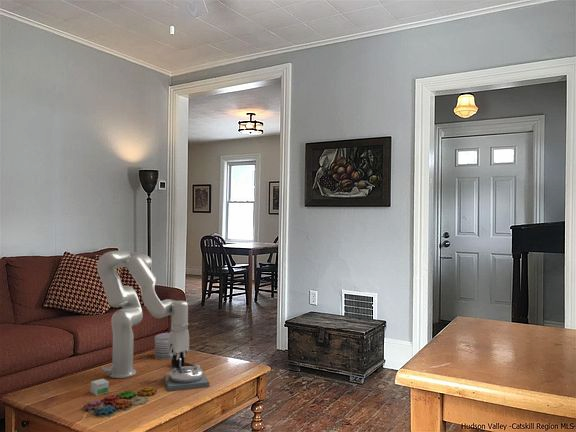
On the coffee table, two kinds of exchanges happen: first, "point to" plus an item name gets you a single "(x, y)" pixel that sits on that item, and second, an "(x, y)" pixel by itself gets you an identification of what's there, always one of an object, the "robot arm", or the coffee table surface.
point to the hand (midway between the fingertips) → (178, 366)
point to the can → (162, 346)
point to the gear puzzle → (118, 402)
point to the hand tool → (181, 366)
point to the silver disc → (186, 373)
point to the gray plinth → (181, 386)
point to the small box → (99, 386)
